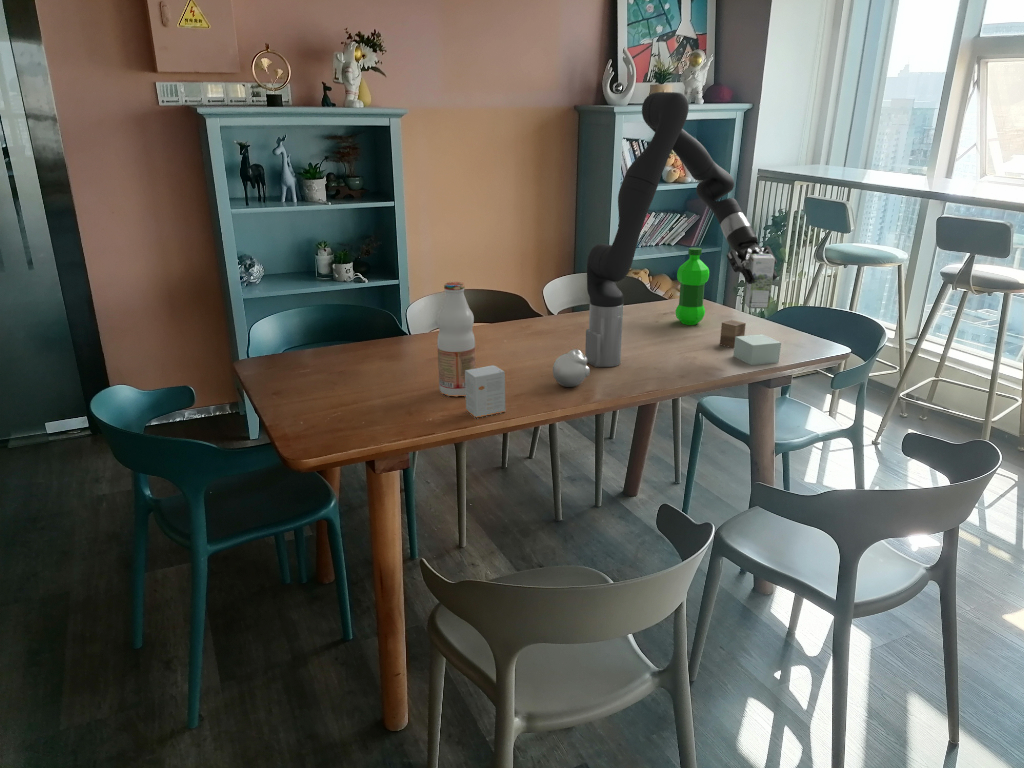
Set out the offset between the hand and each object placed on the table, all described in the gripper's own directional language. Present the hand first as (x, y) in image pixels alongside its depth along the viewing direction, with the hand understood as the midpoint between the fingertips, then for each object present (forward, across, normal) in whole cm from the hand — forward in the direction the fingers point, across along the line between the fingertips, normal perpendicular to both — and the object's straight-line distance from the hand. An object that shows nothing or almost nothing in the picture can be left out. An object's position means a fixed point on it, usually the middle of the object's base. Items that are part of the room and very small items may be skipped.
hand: (763, 280), depth 207 cm
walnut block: (+6, +4, +26) cm, 27 cm away
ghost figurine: (+13, -58, +19) cm, 63 cm away
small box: (+18, -86, +14) cm, 88 cm away
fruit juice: (+6, -86, +25) cm, 90 cm away
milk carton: (+4, 0, +7) cm, 8 cm away
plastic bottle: (-12, +8, +45) cm, 47 cm away
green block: (+16, 0, +17) cm, 23 cm away
